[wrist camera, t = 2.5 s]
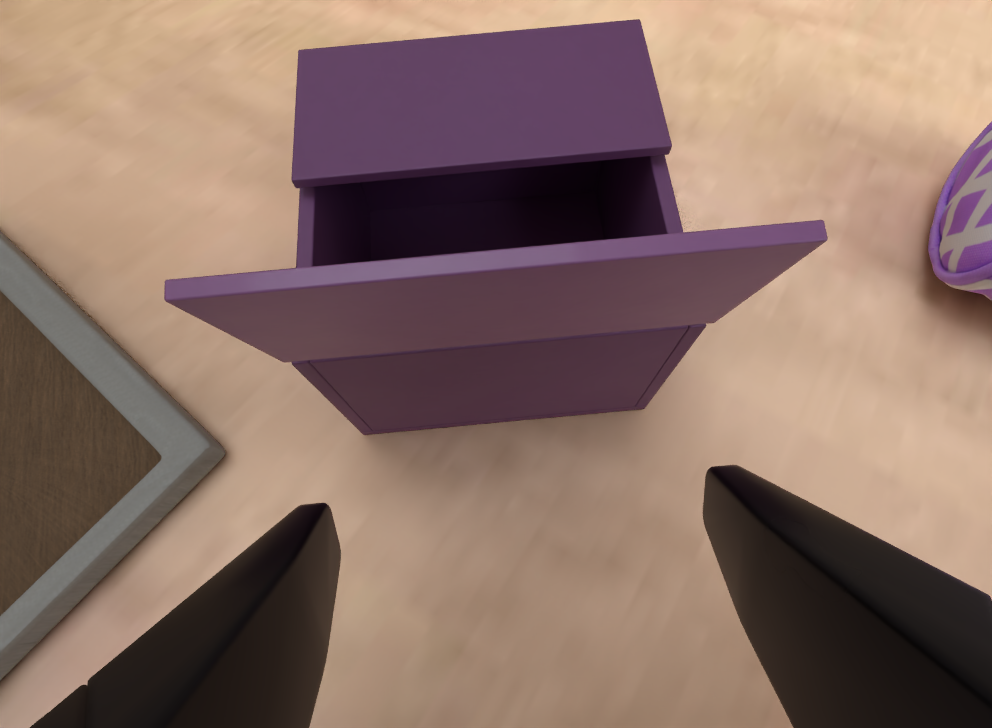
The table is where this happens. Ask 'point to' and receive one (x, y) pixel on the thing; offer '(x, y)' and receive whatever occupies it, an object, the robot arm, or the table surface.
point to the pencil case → (966, 222)
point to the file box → (485, 205)
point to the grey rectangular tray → (76, 454)
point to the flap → (496, 292)
